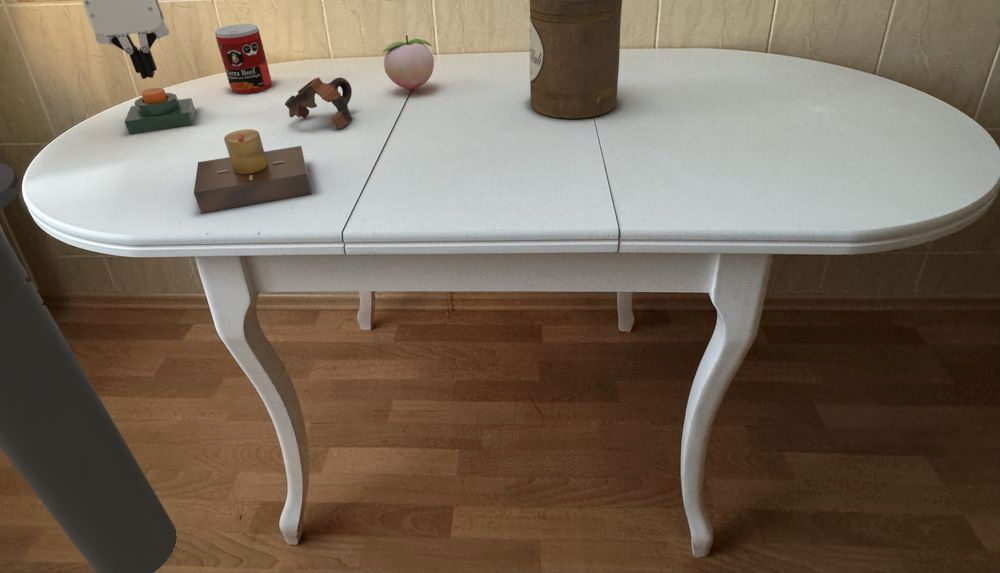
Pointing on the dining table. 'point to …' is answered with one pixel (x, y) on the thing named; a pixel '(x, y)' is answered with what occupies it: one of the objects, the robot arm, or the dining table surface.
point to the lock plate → (251, 181)
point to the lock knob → (246, 151)
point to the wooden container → (574, 56)
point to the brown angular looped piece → (326, 93)
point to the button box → (160, 114)
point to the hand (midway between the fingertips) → (148, 75)
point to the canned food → (243, 58)
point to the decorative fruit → (409, 63)
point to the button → (154, 95)
